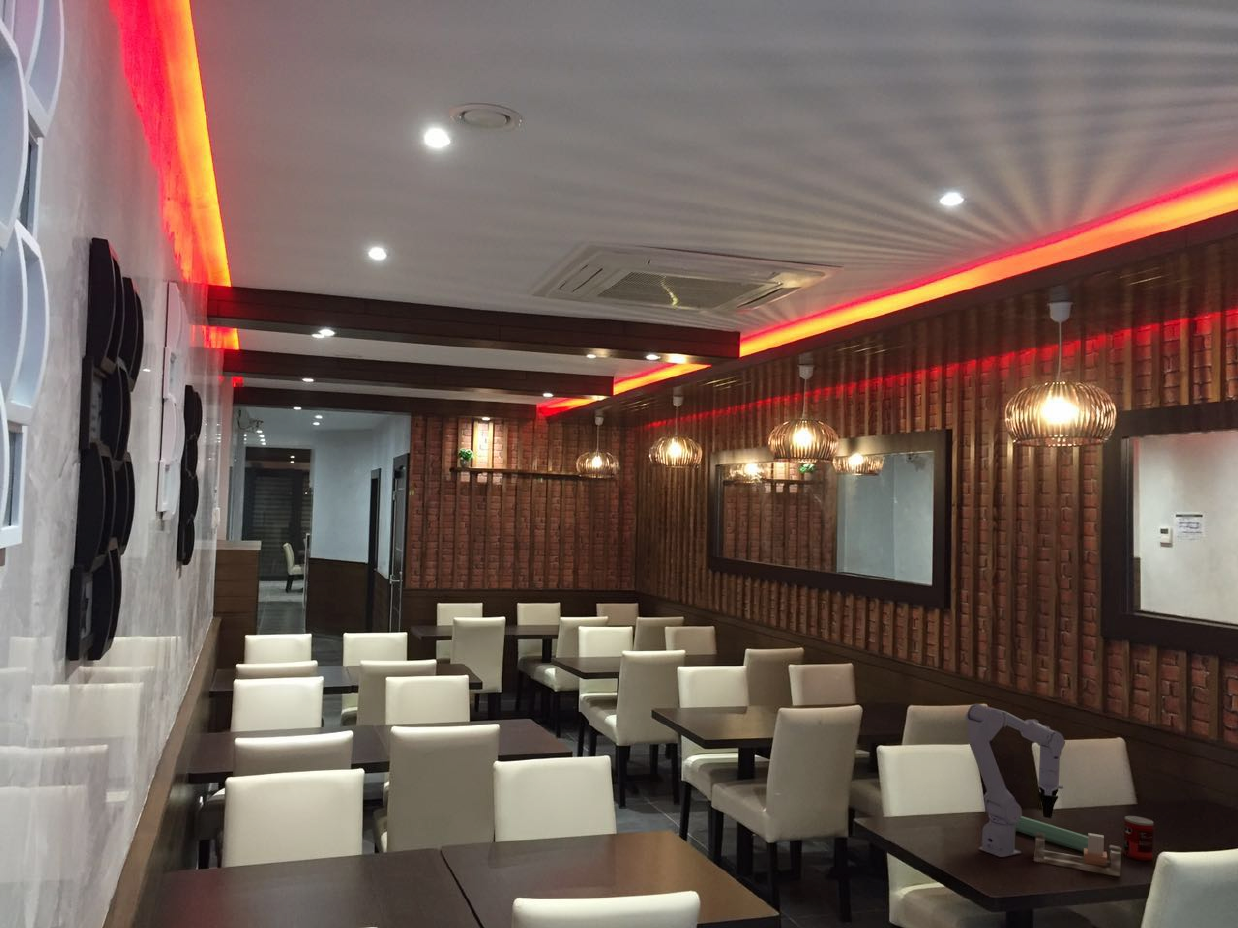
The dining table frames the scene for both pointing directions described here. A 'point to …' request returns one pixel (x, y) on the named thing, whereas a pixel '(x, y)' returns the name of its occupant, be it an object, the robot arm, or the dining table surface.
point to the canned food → (1138, 837)
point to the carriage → (1095, 850)
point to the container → (1052, 833)
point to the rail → (1076, 858)
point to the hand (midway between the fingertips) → (1047, 814)
